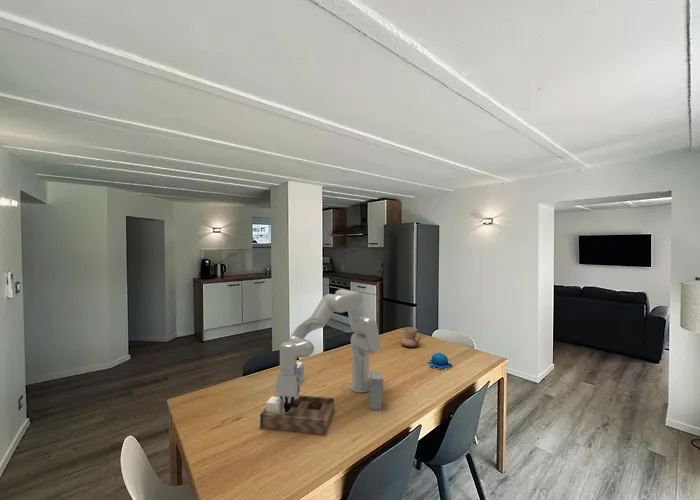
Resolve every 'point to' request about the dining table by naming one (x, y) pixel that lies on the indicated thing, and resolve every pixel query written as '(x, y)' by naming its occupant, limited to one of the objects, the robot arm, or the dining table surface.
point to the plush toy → (439, 361)
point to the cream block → (274, 406)
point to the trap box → (302, 416)
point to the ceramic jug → (410, 337)
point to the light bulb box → (300, 370)
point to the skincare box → (376, 390)
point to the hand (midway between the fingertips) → (287, 410)
